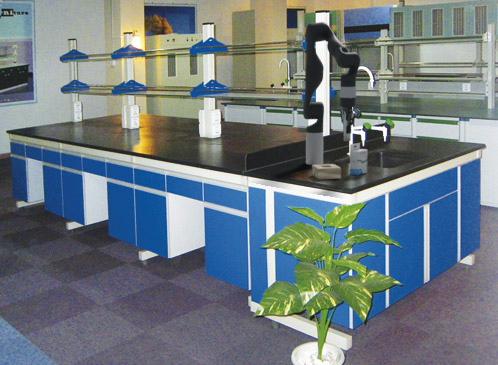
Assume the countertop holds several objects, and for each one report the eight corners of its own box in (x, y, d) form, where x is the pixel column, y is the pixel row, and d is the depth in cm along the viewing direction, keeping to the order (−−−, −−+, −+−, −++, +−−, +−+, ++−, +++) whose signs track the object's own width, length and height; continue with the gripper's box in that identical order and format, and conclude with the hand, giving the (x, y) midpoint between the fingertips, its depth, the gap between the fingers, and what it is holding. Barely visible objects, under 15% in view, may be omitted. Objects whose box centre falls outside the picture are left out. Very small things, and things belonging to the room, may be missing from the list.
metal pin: (342, 140, 288) (343, 115, 285) (349, 139, 289) (349, 114, 286) (345, 141, 285) (345, 115, 282) (351, 140, 286) (352, 115, 283)
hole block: (312, 175, 298) (312, 165, 297) (333, 173, 300) (333, 163, 299) (318, 179, 287) (318, 169, 286) (340, 178, 289) (341, 167, 288)
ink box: (357, 175, 295) (358, 145, 292) (349, 174, 298) (349, 144, 295) (367, 172, 301) (368, 143, 298) (359, 171, 304) (359, 142, 301)
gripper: (335, 95, 288) (334, 131, 292) (345, 97, 275) (344, 135, 279) (349, 94, 290) (349, 130, 293) (361, 97, 276) (360, 134, 280)
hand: (347, 132), depth 286 cm, fingers closed on metal pin, 3 cm apart
